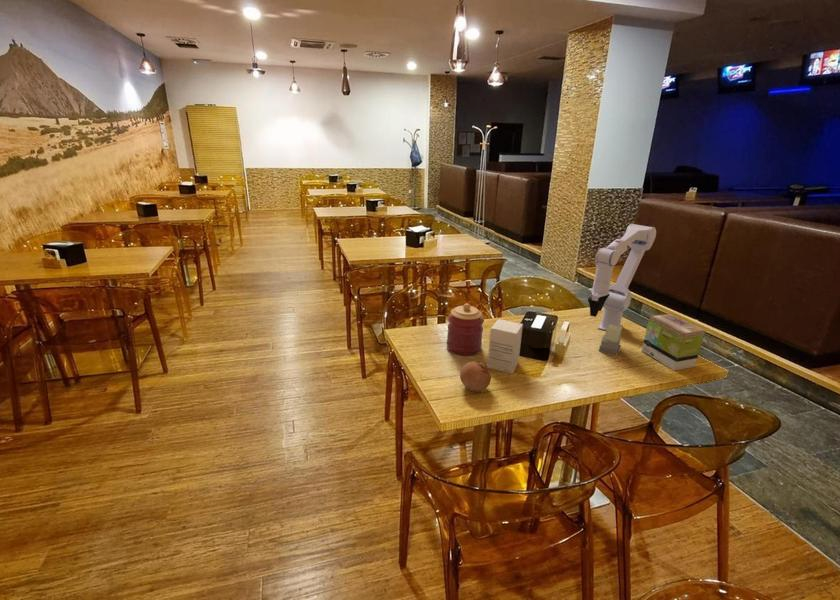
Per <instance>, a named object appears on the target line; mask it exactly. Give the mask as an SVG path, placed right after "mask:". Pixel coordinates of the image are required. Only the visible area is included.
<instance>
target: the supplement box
mask: <svg viewBox="0 0 840 600" xmlns="http://www.w3.org/2000/svg"><path fill="white" fill-rule="evenodd" d="M523 328H524V324H523V323H519V322H514V321H509V320H505V319H501V318H499V319H498V318H497V320H496V322H495V323H494V324H493V325H492V326H491V328H490V332H489V333H490V334H489V346H488V353H487V354H488V355H487V356H488V357H487V365H486V366H487V368H488V369H492V370H495V371H499V372H503V373H507V374H513V373H514V371H515V370H516V368H517V366H518V364H519V361H520V352H521V344H522V336H523V335H522V334H523Z"/></svg>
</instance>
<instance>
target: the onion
mask: <svg viewBox="0 0 840 600" xmlns="http://www.w3.org/2000/svg"><path fill="white" fill-rule="evenodd" d="M459 377H460V381H461V383H462V385H463V386H464V387H465V389H466V390H468V391H470V392H473V393H474V394H476V393H481V392H482V391H484V390H485V389H487V388H488V387H489V385H490V383H491V380H492V373H491V371H490V368H487V365H486V364H485V363H483V362H479V361H473V360H471V361H468V362H466V363H465V364H464V365H463V366H462V367H461V370H460V373H459Z"/></svg>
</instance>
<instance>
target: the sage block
mask: <svg viewBox="0 0 840 600" xmlns="http://www.w3.org/2000/svg"><path fill="white" fill-rule="evenodd" d="M622 330H623V327H622V328H621V327H617V326H613V325H609V326H608V327H607V329H606V330H605V334H604V335H605V339H604V340H608V341H612V342H616V343H617V342H618V341H619V339H620V340H621V336H622V335H621V334H622Z"/></svg>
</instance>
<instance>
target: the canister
mask: <svg viewBox="0 0 840 600" xmlns="http://www.w3.org/2000/svg"><path fill="white" fill-rule="evenodd" d="M447 320H448V323H447V336H446V337H447V338H446V347H447V350H448V351H449V352H451V353H453V354H455V355H457V356H459V355H460V356H474V355H477V354H479V353H480V351H481V349H482V346H483V342H482V339H483V332H484V327H483V324H484V321H485V319H484V317H483V313H482V310H479V309H478V308H477V307H475V306H473V305H471V304H469V303H464V304H463V305H458V306H456V307H454V308H452V309H451V310H450V314H449V315H448V317H447Z"/></svg>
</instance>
